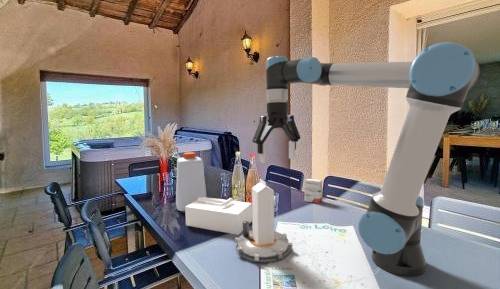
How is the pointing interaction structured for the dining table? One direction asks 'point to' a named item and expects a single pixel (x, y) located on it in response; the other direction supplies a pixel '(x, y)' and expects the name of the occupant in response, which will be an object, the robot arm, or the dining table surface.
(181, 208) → the plastic bottle
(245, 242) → the sprocket
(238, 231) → the tissue box
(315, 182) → the ink box
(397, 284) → the dining table surface
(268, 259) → the sprocket base
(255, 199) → the milk
